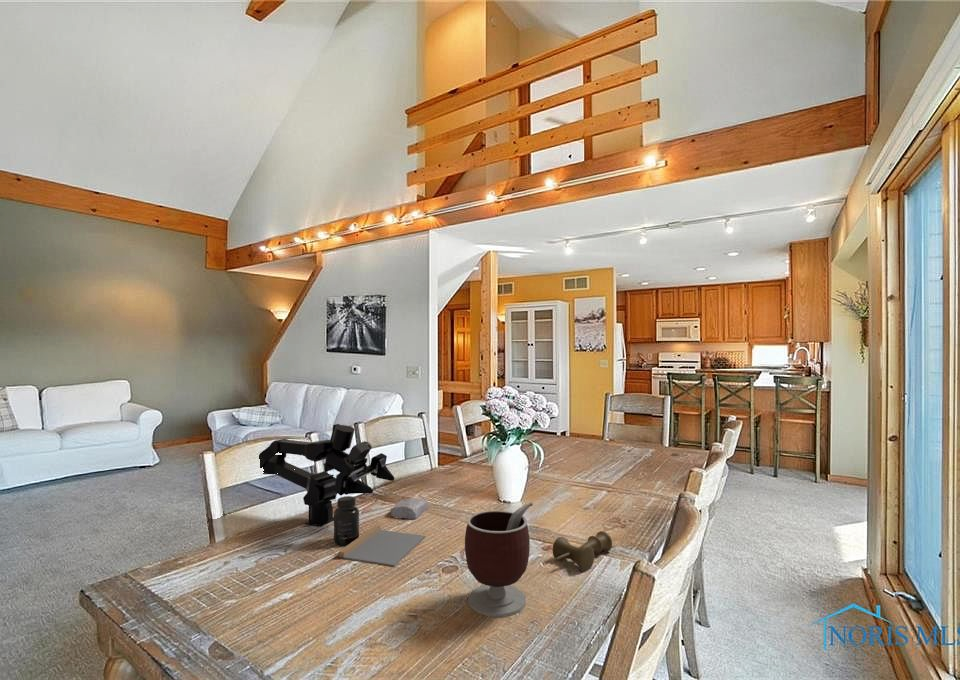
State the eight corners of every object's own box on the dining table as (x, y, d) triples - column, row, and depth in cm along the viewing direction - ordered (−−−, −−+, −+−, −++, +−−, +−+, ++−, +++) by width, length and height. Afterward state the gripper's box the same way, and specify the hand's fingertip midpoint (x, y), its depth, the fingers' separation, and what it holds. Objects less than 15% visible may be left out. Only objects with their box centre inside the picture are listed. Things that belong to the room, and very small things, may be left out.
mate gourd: (480, 625, 93) (480, 522, 93) (455, 592, 106) (455, 501, 106) (548, 608, 99) (548, 512, 99) (517, 578, 112) (517, 493, 112)
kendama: (621, 557, 124) (571, 579, 112) (590, 546, 132) (541, 565, 119) (620, 534, 125) (571, 552, 112) (590, 524, 132) (541, 541, 119)
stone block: (389, 524, 151) (418, 520, 149) (386, 508, 151) (415, 504, 149) (402, 512, 163) (430, 508, 161) (400, 498, 163) (427, 494, 161)
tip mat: (338, 557, 122) (338, 551, 122) (375, 530, 140) (375, 525, 140) (394, 566, 118) (394, 560, 118) (425, 537, 136) (425, 531, 136)
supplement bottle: (336, 537, 136) (336, 494, 136) (360, 536, 136) (361, 494, 136) (331, 547, 129) (331, 502, 129) (356, 546, 129) (356, 502, 130)
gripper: (323, 449, 133) (364, 472, 126) (369, 430, 149) (408, 449, 142) (318, 483, 136) (359, 508, 129) (364, 461, 152) (402, 482, 145)
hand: (383, 485), depth 136 cm, fingers open, 9 cm apart
